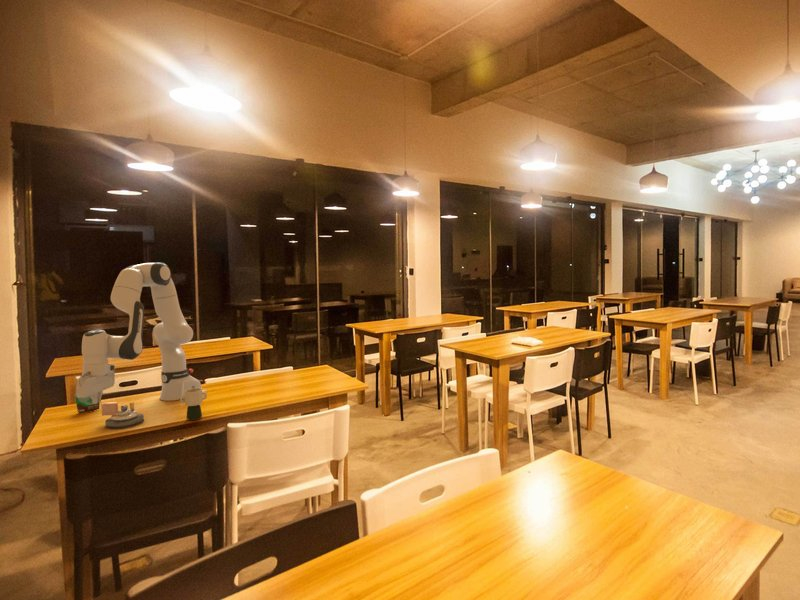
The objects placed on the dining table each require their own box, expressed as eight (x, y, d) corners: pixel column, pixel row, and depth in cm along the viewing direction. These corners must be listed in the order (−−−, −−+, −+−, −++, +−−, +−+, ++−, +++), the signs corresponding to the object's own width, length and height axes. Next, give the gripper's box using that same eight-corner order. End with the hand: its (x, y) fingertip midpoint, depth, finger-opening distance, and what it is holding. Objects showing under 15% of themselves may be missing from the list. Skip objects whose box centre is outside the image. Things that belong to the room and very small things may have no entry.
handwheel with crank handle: (130, 416, 199) (129, 399, 198) (151, 420, 193) (150, 403, 192) (98, 425, 186) (97, 408, 185) (119, 430, 180) (118, 412, 179)
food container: (86, 414, 201) (84, 393, 200) (74, 414, 202) (73, 392, 201) (109, 406, 213) (107, 386, 212) (98, 406, 214) (97, 385, 213)
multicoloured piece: (142, 413, 194) (141, 398, 194) (130, 421, 185) (129, 405, 184) (109, 414, 193) (108, 399, 193) (96, 422, 184) (95, 406, 183)
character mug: (205, 414, 200) (204, 386, 199) (209, 418, 194) (208, 389, 194) (178, 419, 193) (177, 390, 192) (182, 423, 188) (181, 393, 187)
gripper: (87, 375, 171) (88, 410, 172) (117, 364, 191) (118, 396, 192) (70, 375, 170) (71, 410, 171) (102, 365, 191) (103, 396, 191)
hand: (96, 403), depth 182 cm, fingers closed
